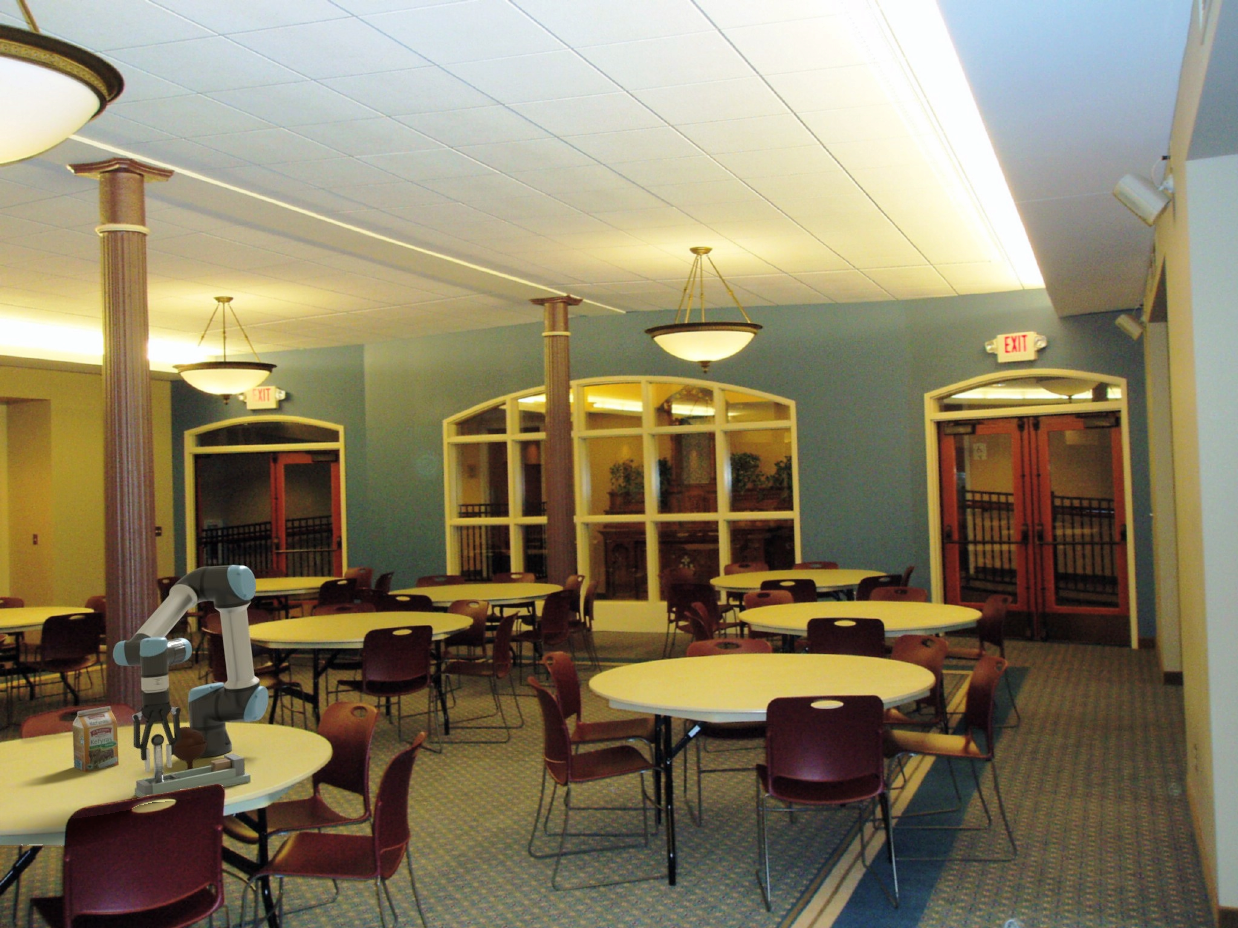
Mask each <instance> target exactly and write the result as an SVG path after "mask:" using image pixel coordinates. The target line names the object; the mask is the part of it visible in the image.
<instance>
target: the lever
mask: <svg viewBox="0 0 1238 928" xmlns="http://www.w3.org/2000/svg"><path fill="white" fill-rule="evenodd" d="M150 743H151V745H152V747H153V748H152V750H153V771H154V775H153V777H155V781H151V782H149V783H150V784H156V783H161V782H166V781H171V780H176V779H180V777H178V776H176V775H174V774H170V773H169V774H170V778H166V779H163V775H164V761H163V760H164V759H163V758H164V757H163V744H164V743H165V738H164V735H162V734H160V733H157V734H153V735H152V737H151V738H150Z"/></svg>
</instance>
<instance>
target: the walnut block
mask: <svg viewBox="0 0 1238 928" xmlns="http://www.w3.org/2000/svg"><path fill="white" fill-rule="evenodd" d="M210 766H211V772H216V771H221V770H226V769H231V761H230V760H228V759H226V758H220V759H216V760H210Z"/></svg>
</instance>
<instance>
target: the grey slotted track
mask: <svg viewBox="0 0 1238 928" xmlns="http://www.w3.org/2000/svg"><path fill="white" fill-rule="evenodd" d="M223 757H224V758H226V759H228V760H230V761H231V769H226V770H221V771H216V772H211V765H207V766H206V765H205V766H202V767H196V768H195V769H190V770H186V769H185V771H184V770H181V771H177V772H176V771H175V772H171V773H170V772H169V773H166V774H163V779H166V778H170V774H174V775H176V776H178V777H180V779H176V780H171V781H166V782H161V783H156V784H150V783H149V782H151V781H155V777H154V776H150V777H146V778H142V779H140V780H139V779H138V780H135V784H136V785H135V787H134V796H136V797H137V798H139V797H143V796H147V795H155V794H163V793H167V792H173V791H178V790H180V789H188V788H195V787H199V786H207V785H214V784H221V785H223V786H225V787H224V788H226V787H232V786H235V785H240V784H246V783H250V782H251V774H249V773H247V772H245V757H244V756H241V755H238V754H237V753H229V754H223ZM224 758H223V759H224Z"/></svg>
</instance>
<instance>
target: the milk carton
mask: <svg viewBox="0 0 1238 928" xmlns="http://www.w3.org/2000/svg"><path fill="white" fill-rule="evenodd" d="M76 713H77V714H76V715H77V716H76V717H75V719H74V721H73V722H72V743H73V744H72V746H73V768H75V769H77V770H80V771H82V772H85V773H87V772H91V771H97V770H101V769H106V768H111V767H116V766H119V765H120V764H119V740H118V738H119V737H118V736H119V734H118V722H117V719H116V717H115V715H114V713H113V712H112V707H111V706H110V705H109V706H103V707H98V708H92V709H85V710H79V711H77V712H76Z"/></svg>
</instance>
